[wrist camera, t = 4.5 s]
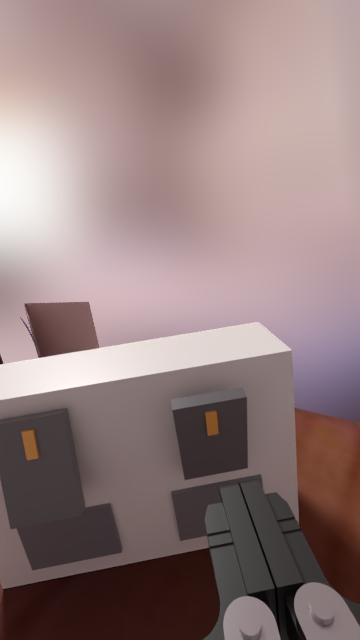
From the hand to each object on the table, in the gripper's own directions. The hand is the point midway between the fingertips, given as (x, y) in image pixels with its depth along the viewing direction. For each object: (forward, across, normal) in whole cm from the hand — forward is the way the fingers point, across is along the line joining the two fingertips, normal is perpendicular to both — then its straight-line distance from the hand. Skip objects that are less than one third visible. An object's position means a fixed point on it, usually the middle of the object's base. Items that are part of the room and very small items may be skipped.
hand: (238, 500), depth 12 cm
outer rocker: (+7, 0, +5) cm, 9 cm away
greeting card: (+29, +15, +12) cm, 35 cm away
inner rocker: (+6, +10, +5) cm, 12 cm away
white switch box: (+11, +5, +12) cm, 17 cm away
